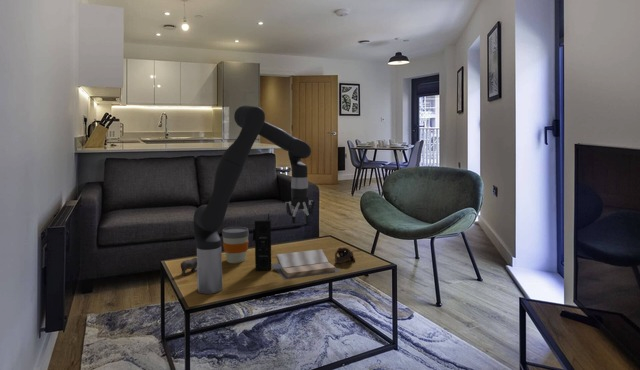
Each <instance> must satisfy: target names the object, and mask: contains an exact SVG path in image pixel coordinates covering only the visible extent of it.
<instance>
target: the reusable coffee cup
mask: <svg viewBox="0 0 640 370" xmlns="http://www.w3.org/2000/svg"><path fill="white" fill-rule="evenodd" d="M221 232H222V234H221V237H222V240H223V241H222V245H223V251H224V253H225V259H226V262H227V263H230V264H239V263H241V262H242V263H243V262H245V261H246V260H247V252H248V249H249V236H250V233H249V228H248V227H243V226H230V227H229V226H228V227H225V228H223V229H222V231H221Z"/></svg>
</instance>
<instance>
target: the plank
mask: <svg viewBox="0 0 640 370" xmlns="http://www.w3.org/2000/svg"><path fill="white" fill-rule="evenodd" d="M276 261H277V263H279V265H280V268H281V270H282V271H283V268H290V267H298V266H305V265H313V264H321V263H329V260H328V258H327V256H326V254H325V253H324V250H323V249H322V248H321V249H320V248H319V249H310V250H303V251H295V252H285V253H277V254H276Z"/></svg>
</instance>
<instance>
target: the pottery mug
mask: <svg viewBox="0 0 640 370" xmlns="http://www.w3.org/2000/svg"><path fill="white" fill-rule="evenodd" d="M347 261H353V262H354V263H355V262H356V258H355V257H354V253H353V251H352V250H351V249H350V248H348V247H338V248H337V250H336V251H335V253H334V262H335V264H336V265H337V264H339V263H340V264H342V263H346V262H347Z"/></svg>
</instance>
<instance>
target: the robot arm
mask: <svg viewBox="0 0 640 370" xmlns="http://www.w3.org/2000/svg"><path fill="white" fill-rule="evenodd" d="M233 116H234V118H233V119H234V122H235V124H236V125H237V126H238V127H240V128H241V130H240V132H239V134H238V136H237V137H236V139H235V140H234V142H232V143H231V145H229V147H227V149H226V150H225V151H224V152H223V154H222V155H221V157H220V159H219V161H218V165H217V167H216V170H215V173H214V179H213V180H214V183H213V189H212V194H211V196H210V198H209V200H208V203H207V204H202V205H200V206H198V207H197V208H196V209H195V211H194V214H193V233H194V240H195V243H196V244H195V245H196V258H197V267H196V282H197V283H196V284H197V285H196V287H197V291H198V294H205V295H207V294H215V293H219V292H221V291H222V290H223V262H222V261H223V259H222V256H223V255H222V239H221V237H220V234H219V232H218V231H219V230H218V229H220V227H222V224H223V223H224V219H225V216H226V213H227V210H228V207H229V206H228V205H229V203H230V201H231V198H232V195H233V193H234V191H235V189H236V186H237V183H238V181H239V179H240V177H241V174H242V172H243V169H244V167H245V164H246V162H247V159H248V156H249V154H250V152H251V150H252V148H253V145H254V143H255V142H256V140H257V138H258V136H261V137H262V138H264V139H265V140H267V141H269V142H271V143H272V144H274V145H275V146H277V147H279V148H280V149H282V150H284V151H286V152H287V155H288V160H289V162H290V167H291V183H290V184H291V185H290V188H291V193H290V194H291V195H290V196H291V199H290V200H289V201H285V202H284V207H285V211H286V213H287V215H288V216H290V220H291V224H292V225H295V226H296V215H297V212H298V210H302V211H303V213H304V215H303V220H304V221H303V222H304V224H308V223H309V215H311V214H313V212H314V207H315V201H314V200H312V199H311V200H310V199H309V180H308V165H307V164H305V163H303V162H302V160H304V159H307V158H309V157H310V156H311V154H312V148H311V146H310V145H309V144H308V143H307V142H306V141H304V140H302V139H300V138H297V137H295V136H293V135H291V134H290V133H288V132H287V131H285V130H284V129H282V128H280V127H278V126H275V125H273V124H271V123H269V122H268V121H265V120H266V113H265V111H264V110H263V108H262V107H259V106H254V105H242V106H239V107H238V108H236V110H235V111H234V115H233ZM308 205H309V206H308ZM291 206H292V209H291ZM307 206H308V208H307Z"/></svg>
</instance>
